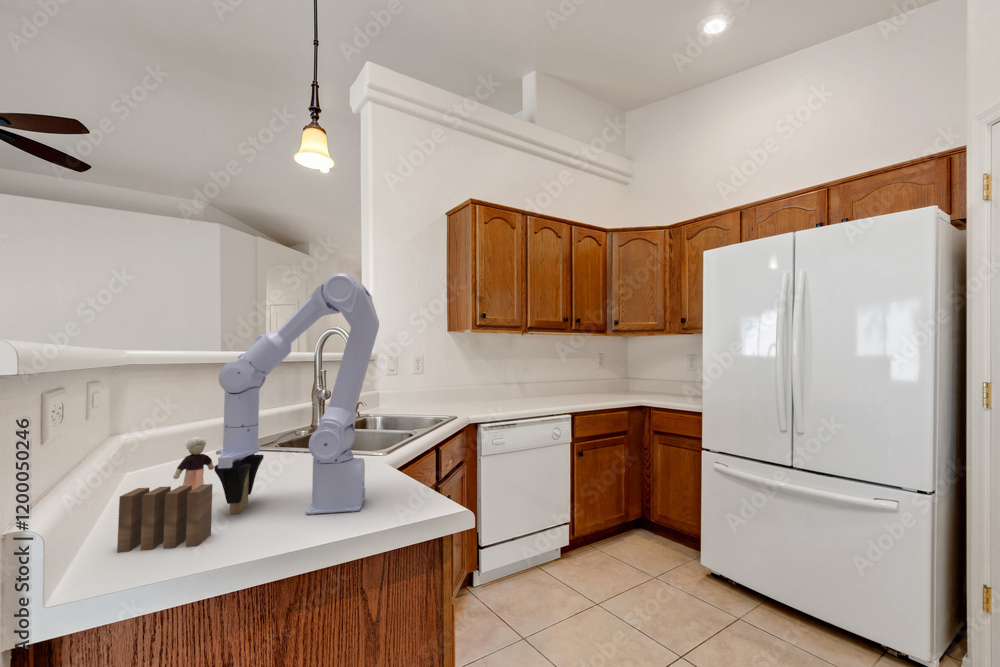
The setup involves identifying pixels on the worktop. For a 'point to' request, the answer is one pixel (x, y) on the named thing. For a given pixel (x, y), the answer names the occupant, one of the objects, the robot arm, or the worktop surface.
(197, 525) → the domino
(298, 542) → the worktop surface
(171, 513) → the domino
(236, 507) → the domino
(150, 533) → the domino
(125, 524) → the domino
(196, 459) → the grandmother figurine
